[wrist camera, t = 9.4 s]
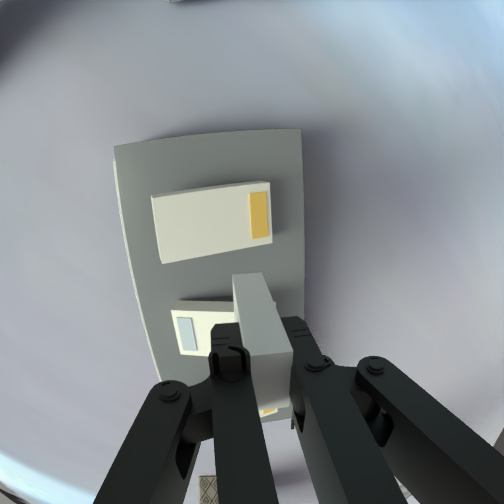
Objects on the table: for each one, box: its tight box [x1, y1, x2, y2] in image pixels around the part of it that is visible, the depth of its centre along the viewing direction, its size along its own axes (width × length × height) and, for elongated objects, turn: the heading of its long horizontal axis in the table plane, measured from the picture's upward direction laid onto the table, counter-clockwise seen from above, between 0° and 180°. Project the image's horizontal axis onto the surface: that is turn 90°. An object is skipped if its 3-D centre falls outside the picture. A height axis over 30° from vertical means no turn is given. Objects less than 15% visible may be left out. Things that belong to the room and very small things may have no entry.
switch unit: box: [113, 129, 305, 423], centre depth 29 cm, size 15×30×7 cm, turn 4°
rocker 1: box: [151, 181, 273, 264], centre depth 21 cm, size 8×4×2 cm, turn 94°
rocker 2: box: [171, 300, 276, 356], centre depth 24 cm, size 8×4×2 cm, turn 93°
